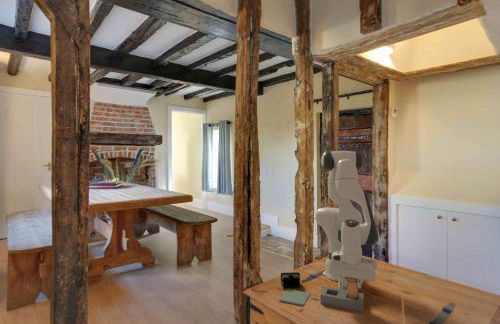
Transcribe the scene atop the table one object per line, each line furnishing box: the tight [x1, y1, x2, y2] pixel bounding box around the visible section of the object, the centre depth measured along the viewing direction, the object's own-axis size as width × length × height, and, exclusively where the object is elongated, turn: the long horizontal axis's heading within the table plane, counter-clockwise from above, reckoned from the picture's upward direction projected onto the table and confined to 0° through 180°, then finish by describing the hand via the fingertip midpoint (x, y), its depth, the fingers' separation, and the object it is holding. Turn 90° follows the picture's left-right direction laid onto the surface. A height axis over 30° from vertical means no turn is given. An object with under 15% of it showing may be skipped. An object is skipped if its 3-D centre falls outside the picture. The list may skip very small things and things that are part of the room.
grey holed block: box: [319, 286, 365, 313], centre depth 133 cm, size 9×18×5 cm, turn 64°
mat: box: [278, 289, 311, 307], centre depth 141 cm, size 12×12×1 cm
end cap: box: [280, 271, 302, 290], centre depth 154 cm, size 10×7×7 cm
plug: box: [347, 277, 358, 299], centre depth 131 cm, size 4×4×10 cm
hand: (352, 286), depth 131 cm, fingers closed on plug, 4 cm apart
